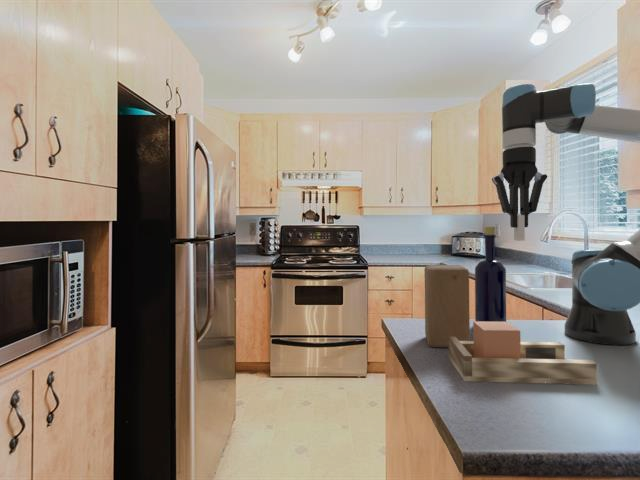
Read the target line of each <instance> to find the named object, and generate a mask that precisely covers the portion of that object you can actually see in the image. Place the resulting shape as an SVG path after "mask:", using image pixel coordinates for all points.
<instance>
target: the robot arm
mask: <svg viewBox="0 0 640 480" xmlns="http://www.w3.org/2000/svg"><path fill="white" fill-rule="evenodd" d="M596 92H597V91H596V86H595V85H594V84H593V83H590V82H589V83H588V82H587V83H581V84H580V83H579V84H578V83H575V84H574V85H573V84H572V85H569V86H564V87H563V86H562V87H558V88H553V89H552V88H551V89H547V90H542V91H540V90H538V91H537V89H536V86H535V85H534V84H532V83H525V84H523V83H520V84H515V85H513V86H510V87H508V88H507V89H506V90H505V91H504V92H503V94H502V107H501V115H502V116H501V117H502V119H501V120H502V121H501V123H502V149H503V151H502V167H501V170H500V173H499V174H497V175H495V176H493V177H492V178H491V182H492V183H493V184H494V186H495V188H496V192H497V195H498V199H499V202H500V206H501V211H502V212H503V214H508V215H509V216H510V228H513V241H525V240H526V239H525V232H526V231H525V230H526V229H525V228H528V227H529V215H530V214H533V213H535V212H537V210H538V206H539V201H540V197H541V193H542V189H543V186H544V183H545V181H546V180H547V179H548V175H547V174H545V173H544V174H543V173H541V172H539V171H538V168H537V166H536V163H537V152H536V151H537V149H536V147H535V146H536V145H537V143H536V142H537V137H536V135H537V134H536V131H537V129H536V126H537V125H536V124H541V123H544V124H545V127H546V129H547V130H548V131H549V132H550V133H551V134H552V133H553V134H555V135H556V134H557V135H563V134H566V133H569V134H578V135H585V136H591V137H598V138H604V139H610V140H616V141H617V140H618V141H623V142H630V143H637V144H640V109H632V108H623V107H614V106H605V105H599V104H598V105H596V99H597V98H596V95H597V94H596ZM533 178H534V179H533ZM504 180H505V181H506V182H507V184H508V190H509V197H508V192H507V190H506V186H505V182H504ZM531 181H534V183H533V185H532V188H531V192H530V187H531V186H530V185H531V184H530V183H531ZM530 193H531V194H530ZM570 261H571V264H572V265H571V266H572V267H571V268H572V269H571V270H572V275H571V276H572V277H571V279H572V281H571V282H572V283H571V287H572V288H571V289H572V293H571V295H572V296H571V297H572V298H571V302H572V303H571V307H570V310H569V313H568V315H567V318H566V320H565V323H564V334H565V335H567V336H568V337H569V338H570V337H571V338H573V339H576V340H580V341H584V342H588V343H595V344H600V345H602V344H603V345H610V346H611V345H614V346H625V345H627V346H628V345H631V344H635V343H636V339H637V335H636V334H637V333H636V331H635V328H634V325H633V323H632V320H631V317H630V316H629V312H628V310H631V309H632V308H634V307H637V306H638V305H640V229H639V230H637V231H636V232H635V233H634V234H633V235H631V236H629V238H627V239H626V240H625V241H612V242H611V243H610V244H609V245H608V246H607V247H605V248H604V249H585V250H581V249H580V250H576V251H574V252H573V254H572V258H571V260H570Z"/></svg>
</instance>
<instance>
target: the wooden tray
mask: <svg viewBox="0 0 640 480" xmlns="http://www.w3.org/2000/svg"><path fill="white" fill-rule="evenodd" d="M565 347H566V346H565V344H564V343H561V342H560V341H554V342H553V341H520V356H521V359H516V358H474V341H473V340H470V341H459V340H458V339H457V338H456V337H454V336H449V348H448V359H449V360H450V363H452V365H453V366H454V368H455V369H456V371H457V373H458V374H459V376H460V377H461V378H462V380H463V381H464V382H475V383H476V382H477V383H478V382H479V383H480V382H484V383H513V382H522V384H551V383H569V384H568V385H591V386H592V385H597V382H598V378H597V377H598V375H597V373H598V372H597V370H598V369H597V368H598V367H597V366H598V365H597V364H598V363H596V362H595V361H593V360H591V359H569V358H568V359H566V358H565V357H566V356H565V349H566V348H565ZM545 382H546V383H545Z"/></svg>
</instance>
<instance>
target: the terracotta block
mask: <svg viewBox="0 0 640 480" xmlns="http://www.w3.org/2000/svg"><path fill="white" fill-rule="evenodd" d="M472 323H473V327H472V328H473V340H472V341H474V358H516V359H521V356H520V342H521V330H520V329H519V328H517V327H515V326H514V325H513V324H511V323H509V322H508V321H506V322H484V321H474V320H473V322H472Z"/></svg>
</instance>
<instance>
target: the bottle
mask: <svg viewBox="0 0 640 480" xmlns="http://www.w3.org/2000/svg"><path fill="white" fill-rule="evenodd" d="M495 229H496V228H495V226H484V235H483V239H484V248H485V249H484V250H485V253H484V254H485V259H483V260H480V261H479V262H478V263H476V265H475V266H474V292H475V293H474V295H475V296H474V297H475V298H474V303H475V305H474V308H475V309H474V312H475V315H474V319H475V321H484V322H507V270H506V267H505V266H504V265H503V263H502V262H501V261H499V260H497V259H495V251H496V250H495V246H496V245H495V244H496V242H495V241H496V238H497V237H496V232H495V231H496V230H495Z"/></svg>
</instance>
